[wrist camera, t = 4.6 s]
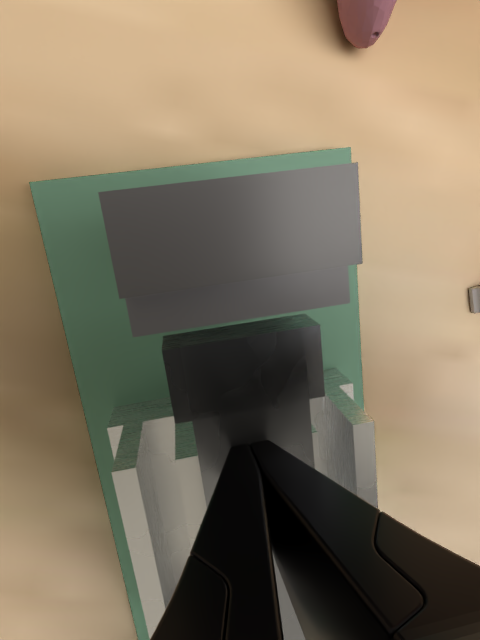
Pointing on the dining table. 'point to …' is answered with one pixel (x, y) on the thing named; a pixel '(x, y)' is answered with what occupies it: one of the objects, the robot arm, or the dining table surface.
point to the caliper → (474, 299)
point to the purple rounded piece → (364, 20)
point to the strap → (248, 397)
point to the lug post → (233, 246)
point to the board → (113, 321)
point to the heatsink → (187, 488)
